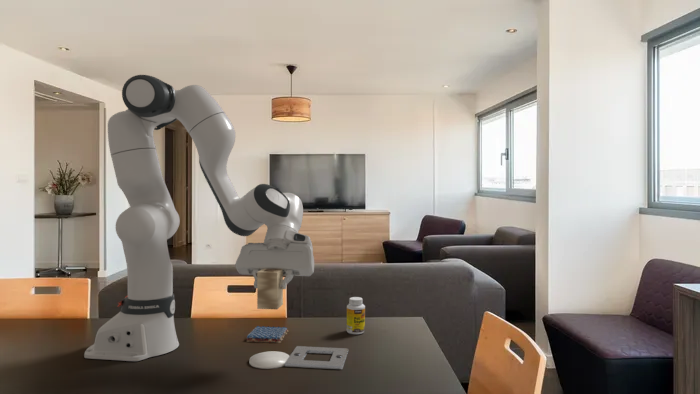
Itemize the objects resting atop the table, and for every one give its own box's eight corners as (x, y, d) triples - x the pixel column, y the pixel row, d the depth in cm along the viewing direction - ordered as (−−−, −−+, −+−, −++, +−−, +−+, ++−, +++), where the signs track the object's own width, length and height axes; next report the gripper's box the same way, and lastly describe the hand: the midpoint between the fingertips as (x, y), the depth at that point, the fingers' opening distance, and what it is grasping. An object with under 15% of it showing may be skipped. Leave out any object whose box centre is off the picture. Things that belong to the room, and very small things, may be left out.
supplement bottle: (353, 336, 129) (353, 301, 129) (342, 331, 134) (343, 297, 134) (368, 333, 133) (368, 299, 132) (358, 328, 137) (358, 295, 137)
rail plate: (284, 366, 107) (284, 362, 107) (296, 349, 119) (296, 345, 119) (342, 369, 105) (342, 365, 105) (348, 351, 117) (348, 348, 117)
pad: (245, 369, 105) (245, 366, 105) (252, 353, 115) (252, 351, 115) (288, 368, 105) (288, 365, 105) (291, 353, 115) (291, 351, 115)
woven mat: (244, 343, 124) (244, 336, 124) (255, 331, 135) (255, 325, 135) (280, 345, 123) (280, 337, 123) (289, 333, 134) (289, 326, 134)
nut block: (257, 308, 108) (257, 271, 108) (263, 303, 113) (263, 267, 113) (277, 309, 107) (277, 271, 107) (282, 304, 112) (282, 268, 112)
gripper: (240, 235, 118) (225, 279, 108) (315, 236, 116) (307, 281, 106) (246, 250, 122) (232, 293, 113) (318, 251, 120) (311, 295, 110)
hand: (269, 287), depth 109 cm, fingers closed on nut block, 5 cm apart
